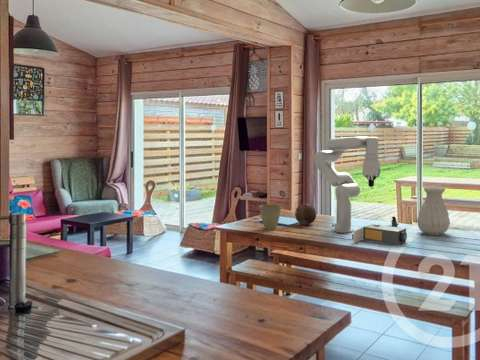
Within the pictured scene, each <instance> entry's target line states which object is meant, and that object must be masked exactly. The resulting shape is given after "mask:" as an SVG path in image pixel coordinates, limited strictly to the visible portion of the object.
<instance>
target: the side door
mask: <svg viewBox="0 0 480 360" xmlns="http://www.w3.org/2000/svg"><path fill="white" fill-rule="evenodd" d="M363 227H364V226H361V227H358V228H356V229H353V232H352V235H351V240H352V244H357V243H358V242H360V241H362V240H363Z"/></svg>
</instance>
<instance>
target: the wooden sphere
mask: <svg viewBox="0 0 480 360" xmlns="http://www.w3.org/2000/svg"><path fill="white" fill-rule="evenodd" d="M294 217H295V219H296V222H298V223H299V224H301V225H303V226H309V225H311V224H312V223H314V222H315V220H316V219H317V210H316V209H315V208H314V206H313V205H312V204H309V203H303V204H300V205H299V206H298V207H297V208H296V209H295V211H294Z"/></svg>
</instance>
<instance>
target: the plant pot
mask: <svg viewBox="0 0 480 360" xmlns="http://www.w3.org/2000/svg"><path fill="white" fill-rule="evenodd" d="M281 210H282V205H280V204H261V205H259V212H260V213H259V214H260V216H261V217H260V218H261V222H262V225H263V227H264V230H266V229H267V230H266V231H274V229H275V230H276V229H277V227H278V223H279V220H280V217H281Z"/></svg>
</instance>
